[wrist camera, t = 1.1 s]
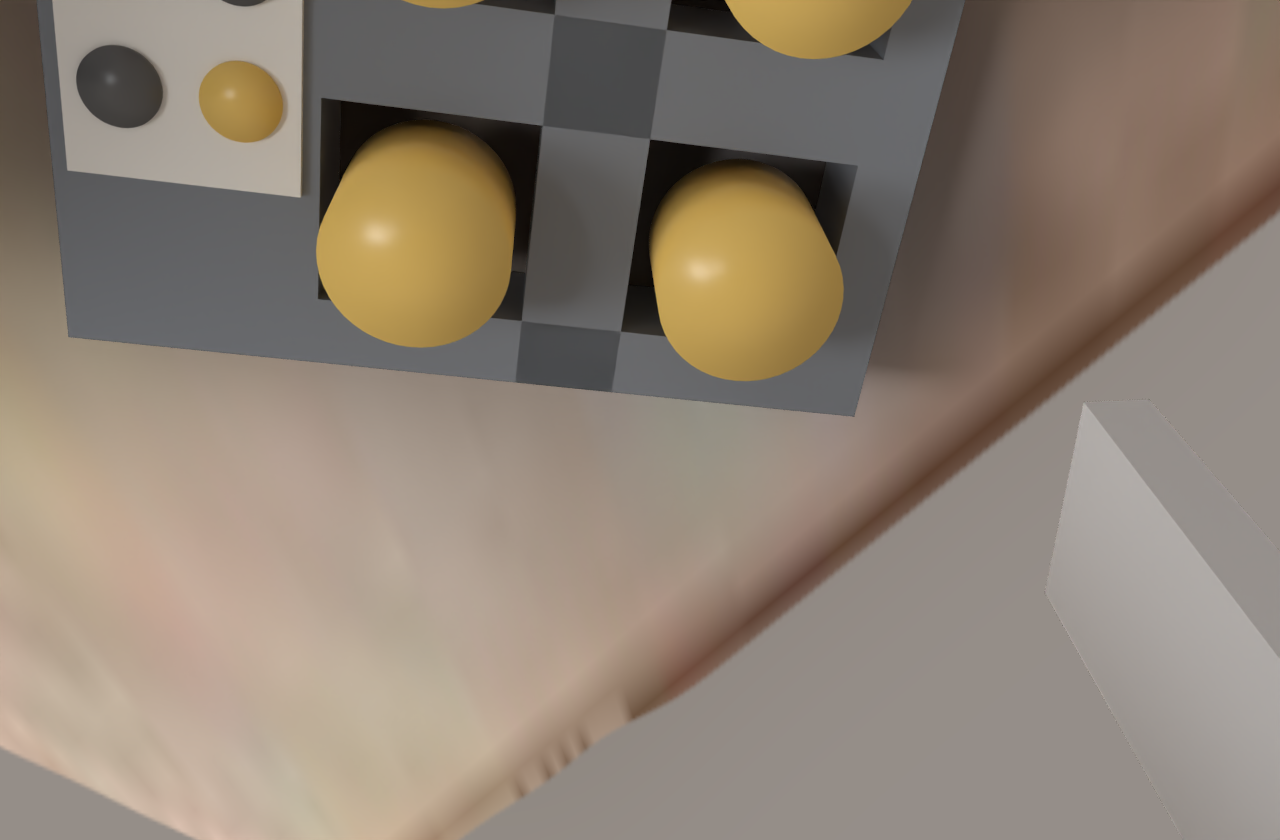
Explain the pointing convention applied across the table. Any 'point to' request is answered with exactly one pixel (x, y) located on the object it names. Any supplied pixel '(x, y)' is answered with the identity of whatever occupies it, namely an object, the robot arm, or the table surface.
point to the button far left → (419, 235)
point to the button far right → (743, 271)
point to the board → (469, 86)
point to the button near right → (817, 24)
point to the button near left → (443, 3)
